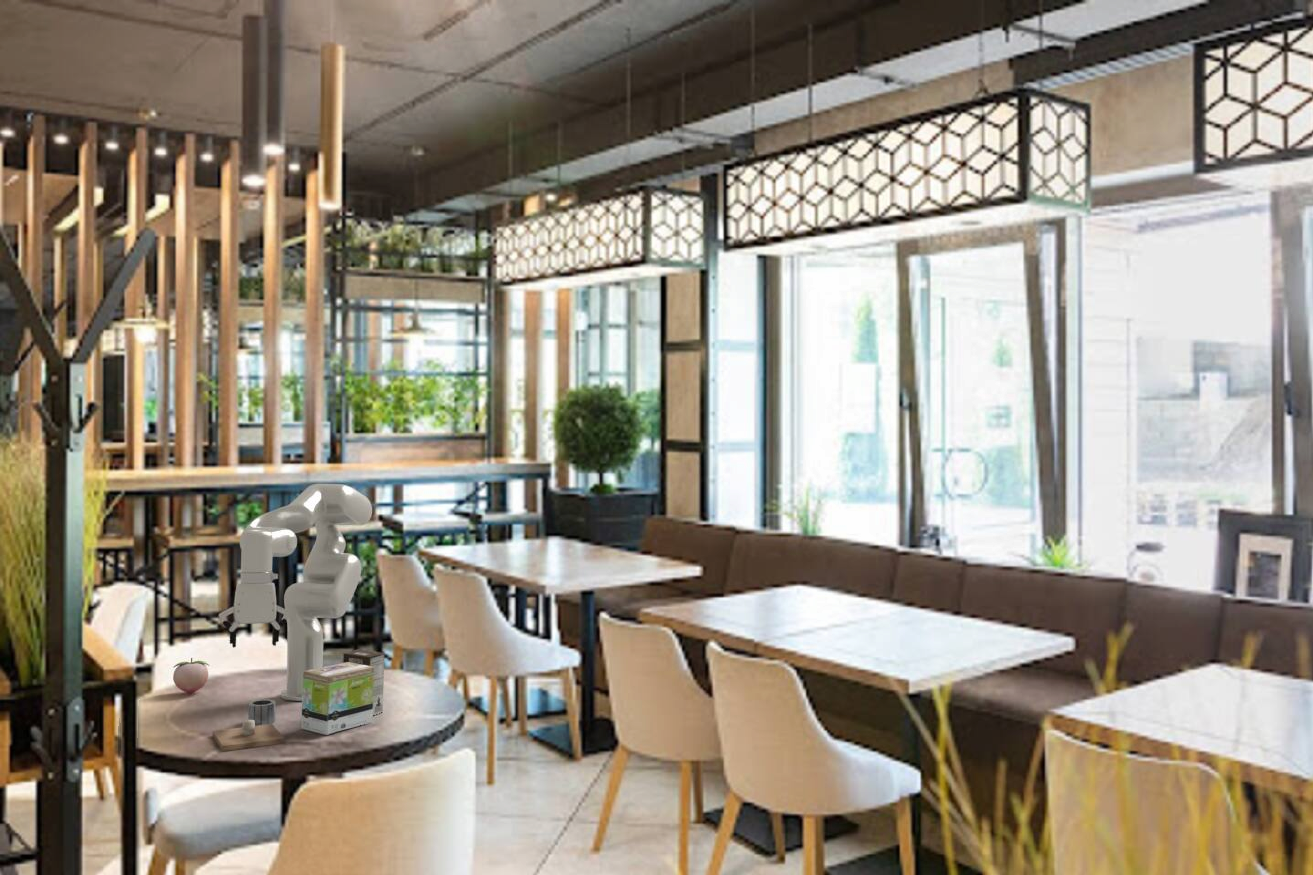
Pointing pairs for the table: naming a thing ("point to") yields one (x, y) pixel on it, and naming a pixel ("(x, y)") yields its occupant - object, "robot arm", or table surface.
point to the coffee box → (378, 663)
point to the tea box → (337, 697)
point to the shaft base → (248, 736)
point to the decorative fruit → (190, 675)
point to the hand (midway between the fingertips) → (254, 645)
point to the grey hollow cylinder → (262, 711)
